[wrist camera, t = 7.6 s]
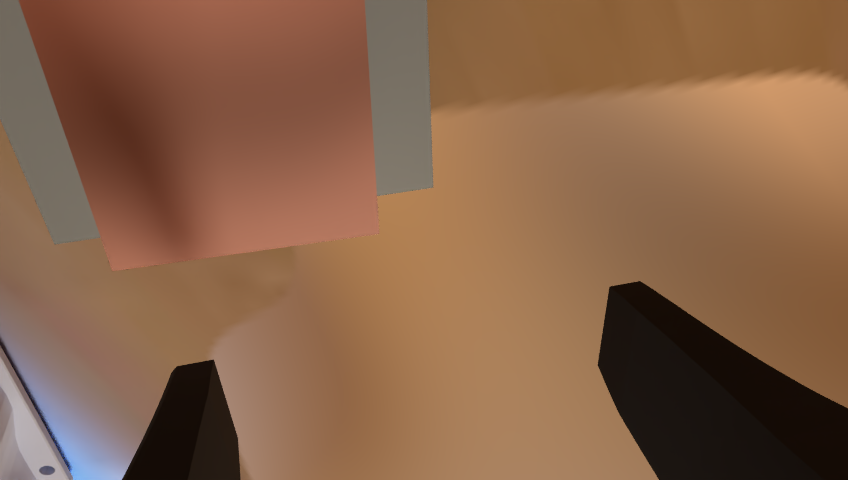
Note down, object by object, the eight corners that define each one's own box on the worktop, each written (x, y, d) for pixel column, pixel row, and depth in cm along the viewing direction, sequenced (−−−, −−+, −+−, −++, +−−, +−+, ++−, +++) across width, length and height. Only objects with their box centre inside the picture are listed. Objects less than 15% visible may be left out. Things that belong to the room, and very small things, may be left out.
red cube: (346, 126, 18) (379, 233, 14) (141, 149, 17) (112, 271, 13) (327, -88, 15) (362, -31, 11) (79, -74, 14) (16, -7, 10)
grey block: (407, 133, 22) (433, 187, 19) (79, 177, 20) (54, 244, 18) (386, -251, 16) (417, -252, 13) (-77, -229, 15) (-149, -226, 12)
